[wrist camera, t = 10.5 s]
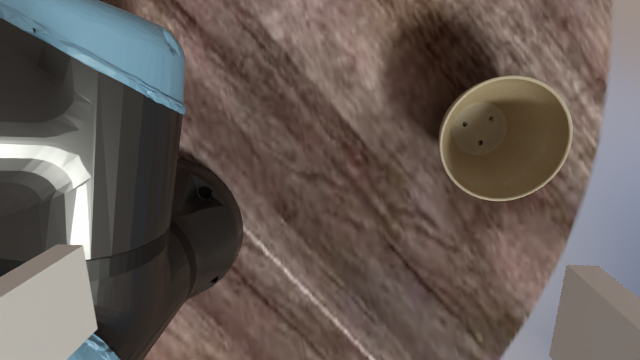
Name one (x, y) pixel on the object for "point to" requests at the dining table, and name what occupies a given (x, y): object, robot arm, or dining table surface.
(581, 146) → the dining table surface
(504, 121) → the flower pot
